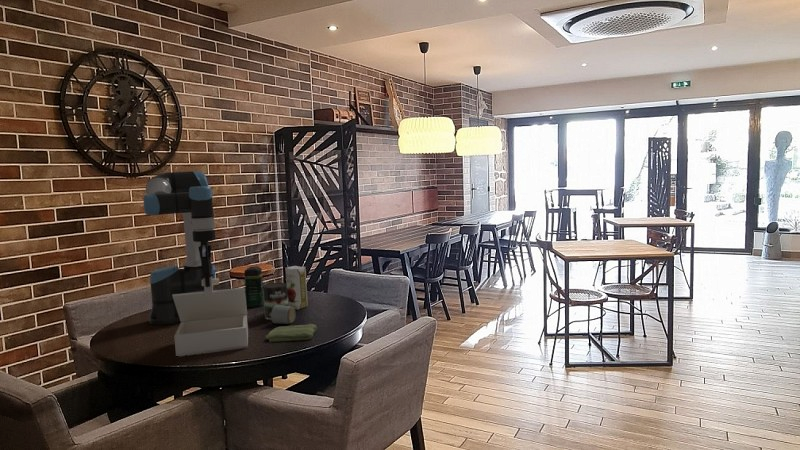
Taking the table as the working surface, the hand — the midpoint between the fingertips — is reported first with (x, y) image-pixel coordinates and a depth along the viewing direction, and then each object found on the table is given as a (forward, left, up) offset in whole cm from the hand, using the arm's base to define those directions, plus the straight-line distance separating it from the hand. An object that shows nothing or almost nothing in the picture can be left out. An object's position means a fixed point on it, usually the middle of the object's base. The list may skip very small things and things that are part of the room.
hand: (208, 295), depth 185 cm
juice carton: (-46, +34, -20) cm, 61 cm away
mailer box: (-5, 0, -20) cm, 20 cm away
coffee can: (-34, +24, -20) cm, 46 cm away
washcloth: (-4, +28, -21) cm, 35 cm away
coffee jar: (-59, +15, -20) cm, 64 cm away
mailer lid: (-7, 0, -6) cm, 9 cm away
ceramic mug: (-24, +27, -20) cm, 41 cm away
